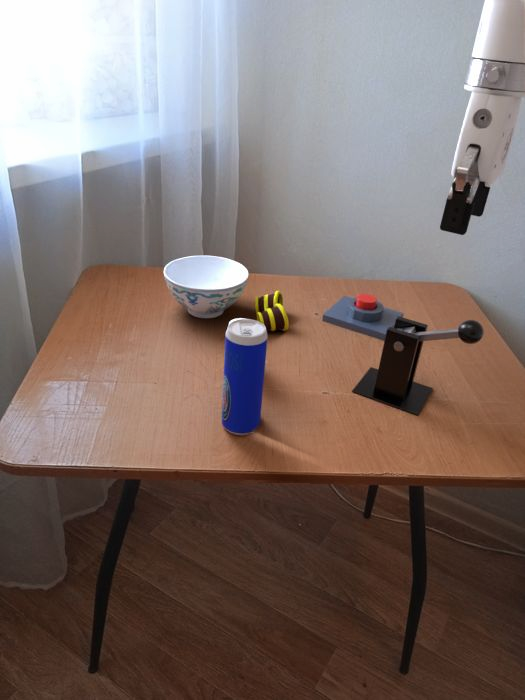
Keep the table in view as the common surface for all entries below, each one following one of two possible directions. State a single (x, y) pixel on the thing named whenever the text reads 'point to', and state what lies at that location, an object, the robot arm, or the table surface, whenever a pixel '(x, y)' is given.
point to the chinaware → (205, 283)
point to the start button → (366, 302)
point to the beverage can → (243, 375)
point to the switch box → (361, 317)
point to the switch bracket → (397, 371)
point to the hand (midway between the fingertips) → (461, 222)
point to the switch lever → (452, 332)
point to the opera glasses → (271, 312)
